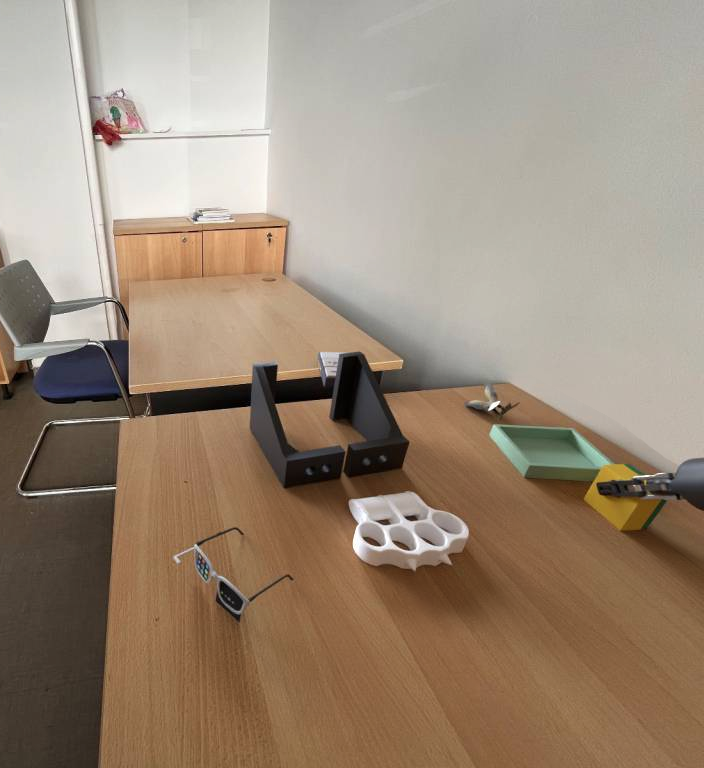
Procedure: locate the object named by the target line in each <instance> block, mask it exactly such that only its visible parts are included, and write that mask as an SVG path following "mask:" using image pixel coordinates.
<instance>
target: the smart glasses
mask: <svg viewBox="0 0 704 768" xmlns="http://www.w3.org/2000/svg"><path fill="white" fill-rule="evenodd" d="M231 531H237V532H238V533H239V534H240V535H241V536H244V535H245V532H242V530H241V529H240V528H238V527H236V526H234V527H231V528H228V529H226V530H223V531H219V532H217V533H216V534H213V535H211V536H208V537H206V538H204V539H201V540H199V541H197V542H195V544H194V545H193V547H191V548H188V549H186V550H184V551H182V552H180V553H177V554H176V555H173V556H172V559H173V560H174V561H175V563H176V564H177V565H180V564H181V560H180V559H179V558H181V557H183V556H184V555H186V554H189V553H191V552H193V553H194V554H193V561H194V567H195V570H196V572H197V573H198V574H199V577H200V578H201V579H202V581H203V582H204V583H205V584H210V583H211V582H212V581H213V579H215V581H216V587H217V589H216V593H215V594H216V595H215V600H214V601H215V602H216V603H217V604H218V605H219V606H220V607H221V608H222V609H223V610H224V611H226V612H227V613H228V614H229V616H231V617H232V618H234V620H235V621H236V622H238V623H240V622H241V617H242V614H243V613H244V612H245V610H246V608H247V607H248V606H249V605H250V603H252V602H253V601H254V600H255V599H256V598H257V597H258V596H260V595H261V594H264V592H266V591H268V590H269V589H270V588H272V587H273V586H275V585H277V584H279V582H281V581H282V580H284V579H285V578H286V579H287V578H288V579H289V580H290V581H294V578H293V577H292V575H291V574H289V573H287V574H284V575H282V576H281V577H280V578H278V579H276V580H275V581H273V582H272V583H270V584H268V585H267V586H266V587H264V588H262V589H261V590H259V591H258V592H257V593H255V594H253V595H252V596H250V597H249V598H247V597H246V596H245V595H244V594H243V593H242V592H241V591H240V590H239V589H238V588H237V587H236V586H235V585H234V584H233V583H232V582H231V581H229V580H228V578H226V577H224V576H222V575H219V574H218V573H217V572H216V571H215V568H214V566H213V564H212V562H211V561H210V559H209V558H208V557H207V556H206V554H205V553H204V552H203V550H201V548H200V546H202V545H204V543H206V542H208V541H211V540H212V539H215V538H218V537H220V536H222V535H225V534H227V533H229V532H231Z"/></svg>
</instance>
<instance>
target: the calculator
mask: <svg viewBox="0 0 704 768" xmlns="http://www.w3.org/2000/svg"><path fill="white" fill-rule="evenodd" d="M342 353H343V352H336V351H335V352H333V351H320V352H319V351H318V356H317V360H319V363H320V366H321V373H320V377H321V380H322V384H323V387H324V388H331V389H332V388H333V389H334V384H335V378H336V372H337V365H338V359H339V354H342Z"/></svg>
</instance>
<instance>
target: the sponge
mask: <svg viewBox="0 0 704 768" xmlns="http://www.w3.org/2000/svg"><path fill="white" fill-rule="evenodd" d="M635 476H648V475H646V474H645V473H644V472H643V471H641V470H639V469H638V468H636V467H635V466H633V465H632V464H630V463H617V464H615V463H614V465H603V467H602V468H601V470H600V472H599V473H598V475H597V477H596V479H595V480H594V482H592V484H591V486H590V487H589V489H588V490H587V493H586V494H585V495H584V498H583V501H584V502H585V503H586V504H587V505H589V506H590V507H591V508H592V509H593V510H595V511H596V512H597V513H598V514H599V515H601V516H602V517H603V518H604V519H605V520H607V521H608V522H609V523H610V524H611V525H613V527H614V528H616V529H617V530H619V532H621V531H623V532H624V531H641V530H647V529H648V528H649V527H650V525H651V524H652V523H653V521H654V520H655V518H656V517H657V516H658V514H659V513H660V512H661V510H662V509H663V507H664V506H665V504H666V503H667V502H668V500H664V499H640V498H638V497H619V498H616V497H613V495H612V496H601V495H600V494H599V493H598V489H597V486H596V483H597V482H608V481H611V480H615V481H618V480H631V479H632V477H635ZM648 480H652V479H646V480H644V484H645V485H646V482H647V481H648ZM647 493H648V494H650V495H654V494H651V493H650V492H649V491H647Z"/></svg>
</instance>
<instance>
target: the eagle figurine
mask: <svg viewBox="0 0 704 768" xmlns="http://www.w3.org/2000/svg"><path fill="white" fill-rule="evenodd" d="M483 388H484V389H483V390H484V394H485V397H486V399H488V400H487V401H483V400H479V399H475V400H471V401H470V400H468V401H465V402H464V406H466V407H472V408H475V409H476V410H481V411H482V410H485V409H488V410H487V412H489V411H492V412H493V413H494V414H495V415H497V421H500V420H501V419H502V417H504V416H505V415H506V414H507V413H508V412H509V411H511V410H512V409H514V408H515V407H517V406H518V405H519V404H520V403H521V402H520V401H518V402H516V403H514V404H512V403H511V402H510V401H509V402H508V403H507V404H506V405H505V406H503V405H502V404H501V401H500V400H498V399H499V397H498V394H497V392H496V391H495V390H494V388H493V383H492V382H491V381H486V382H485V383H484V384H483ZM497 408H498V409H501V411H500V412H499V411H498V409H497Z"/></svg>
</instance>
